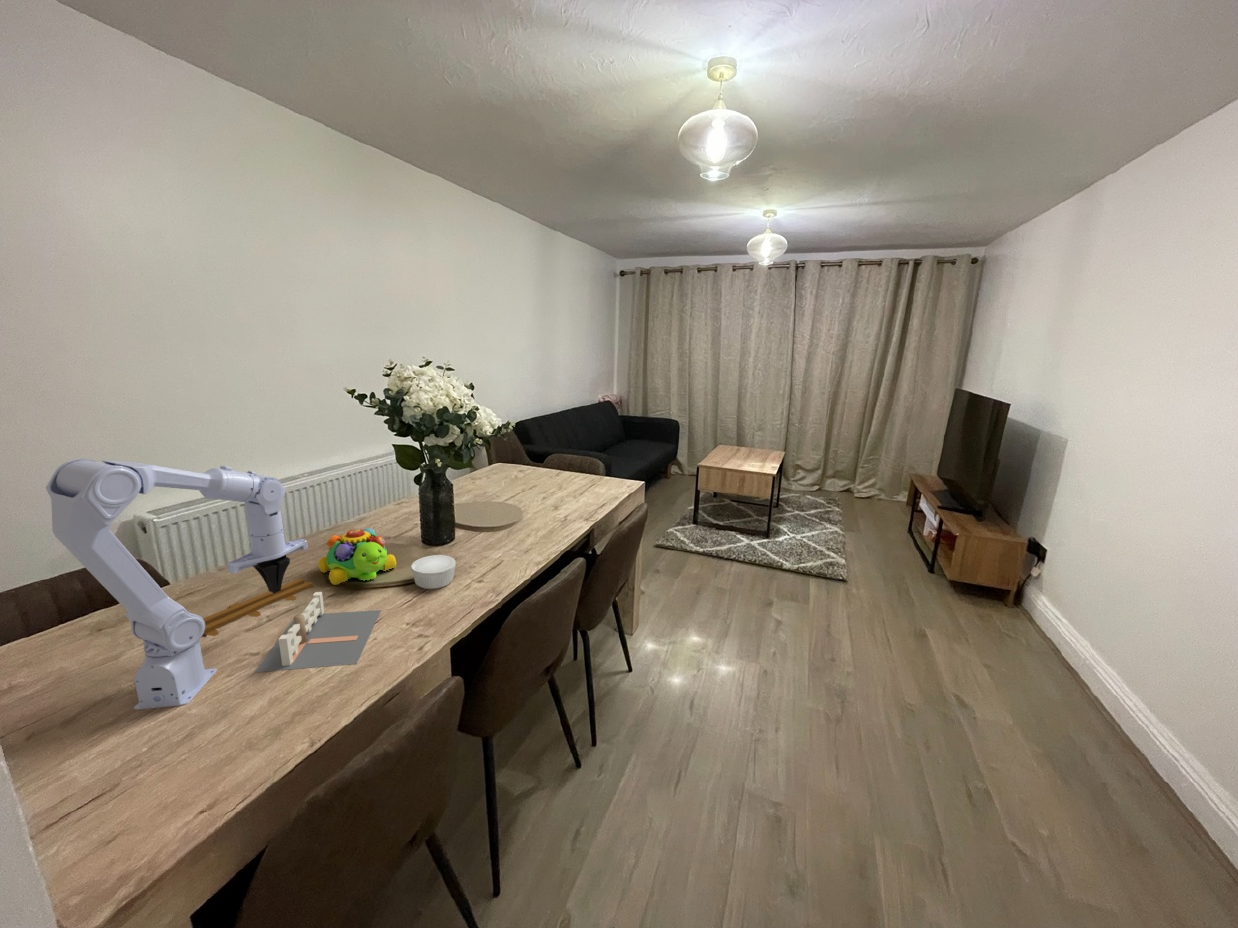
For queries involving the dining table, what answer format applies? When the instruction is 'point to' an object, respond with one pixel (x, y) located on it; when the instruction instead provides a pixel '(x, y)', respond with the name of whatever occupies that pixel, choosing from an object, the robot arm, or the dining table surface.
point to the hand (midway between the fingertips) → (274, 590)
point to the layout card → (327, 642)
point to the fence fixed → (292, 640)
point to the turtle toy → (356, 556)
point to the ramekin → (433, 571)
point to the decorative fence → (252, 606)
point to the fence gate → (313, 610)
